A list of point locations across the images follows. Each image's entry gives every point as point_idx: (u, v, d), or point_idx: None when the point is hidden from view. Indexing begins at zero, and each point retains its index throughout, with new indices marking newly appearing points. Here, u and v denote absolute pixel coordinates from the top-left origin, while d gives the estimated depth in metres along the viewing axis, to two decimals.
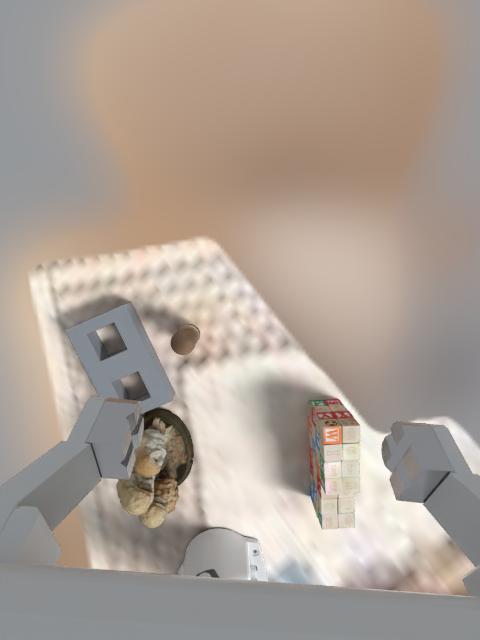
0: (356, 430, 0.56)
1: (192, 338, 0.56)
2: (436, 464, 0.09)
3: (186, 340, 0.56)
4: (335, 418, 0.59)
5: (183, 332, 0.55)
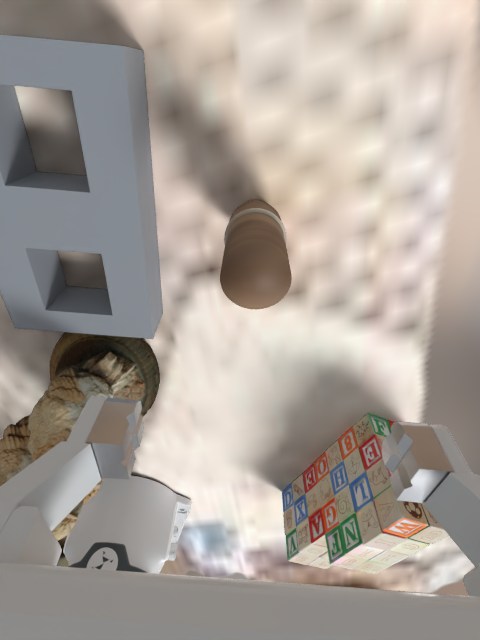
0: (443, 534, 0.32)
1: (287, 280, 0.19)
2: (436, 464, 0.09)
3: (269, 278, 0.19)
4: None
5: (274, 255, 0.18)
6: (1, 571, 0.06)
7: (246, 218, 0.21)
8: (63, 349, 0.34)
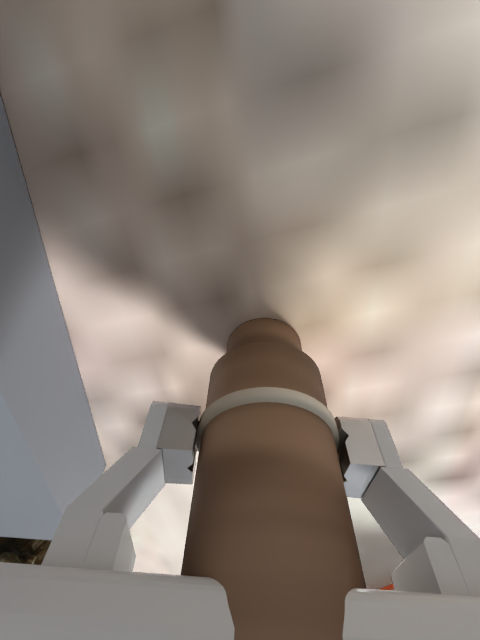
0: None
1: None
2: (369, 458, 0.09)
3: None
4: None
5: None
6: (1, 571, 0.06)
7: (247, 433, 0.08)
8: None
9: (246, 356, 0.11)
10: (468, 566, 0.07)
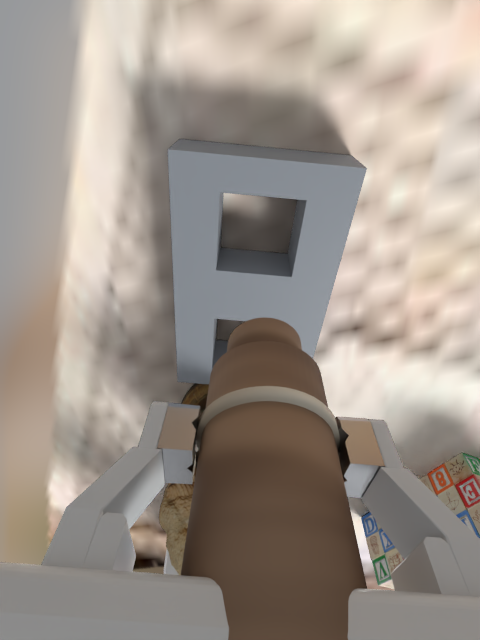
0: None
1: None
2: (369, 458, 0.09)
3: None
4: None
5: None
6: (1, 571, 0.06)
7: (247, 432, 0.08)
8: (202, 394, 0.36)
9: (246, 355, 0.11)
10: (468, 566, 0.07)
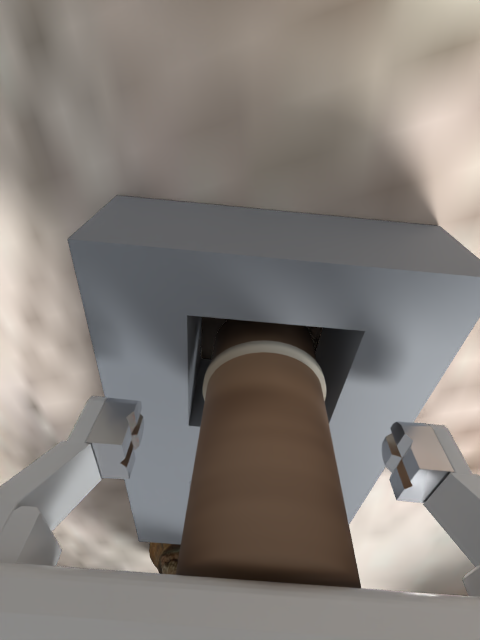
0: None
1: None
2: (436, 464, 0.09)
3: None
4: None
5: (322, 567, 0.06)
6: (1, 571, 0.06)
7: (246, 374, 0.10)
8: None
9: None
10: None
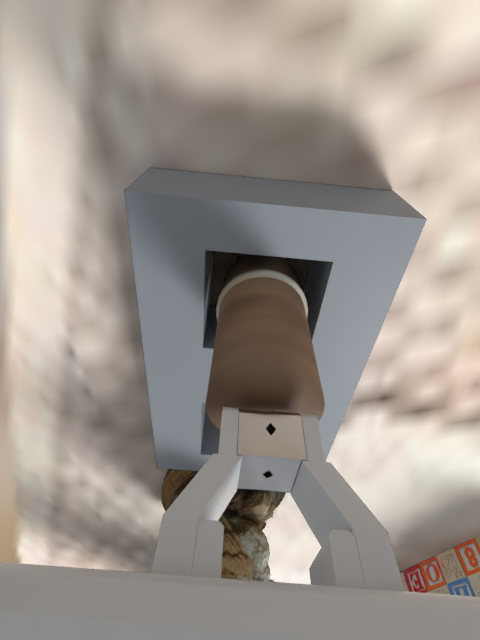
0: None
1: (317, 410, 0.11)
2: (293, 452, 0.09)
3: (287, 407, 0.11)
4: None
5: (298, 377, 0.10)
6: (1, 571, 0.06)
7: (249, 289, 0.14)
8: (191, 470, 0.29)
9: (248, 259, 0.16)
10: (371, 559, 0.07)
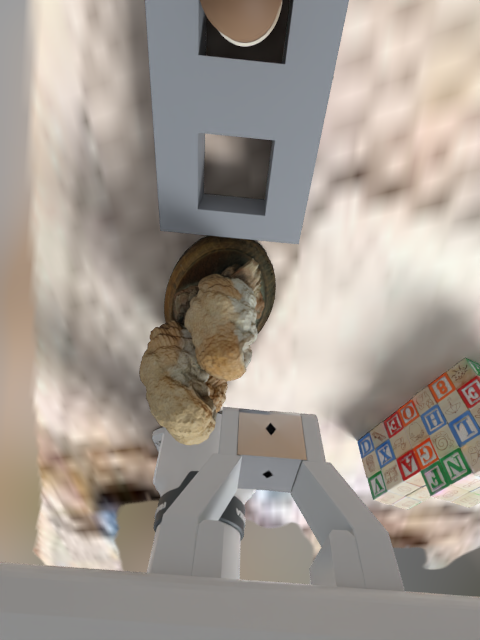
0: None
1: None
2: (293, 453, 0.09)
3: None
4: None
5: None
6: (1, 571, 0.06)
7: None
8: (190, 263, 0.33)
9: None
10: (371, 559, 0.07)
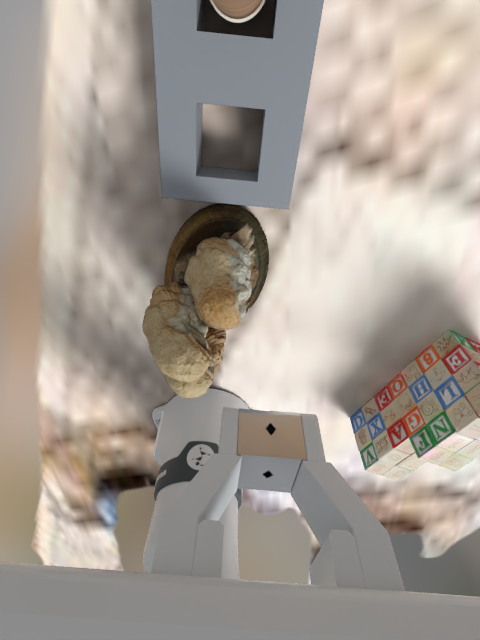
0: None
1: None
2: (293, 452, 0.09)
3: None
4: None
5: None
6: (1, 571, 0.06)
7: None
8: (189, 232, 0.36)
9: None
10: (371, 559, 0.07)
